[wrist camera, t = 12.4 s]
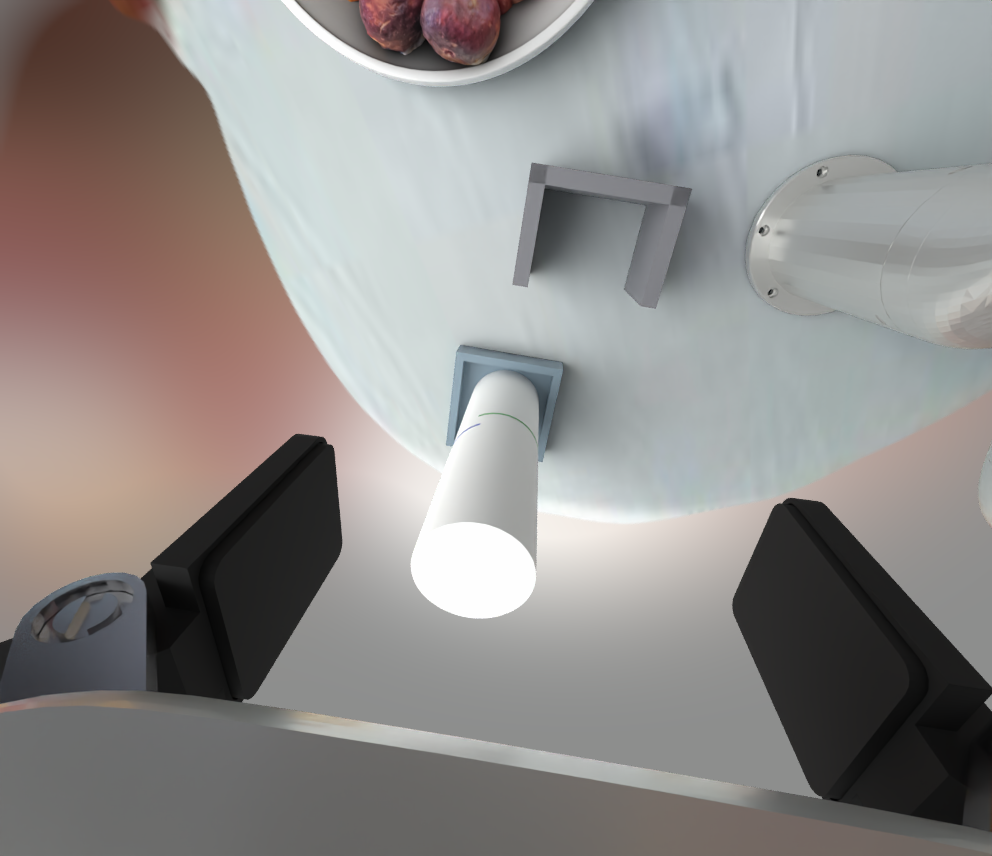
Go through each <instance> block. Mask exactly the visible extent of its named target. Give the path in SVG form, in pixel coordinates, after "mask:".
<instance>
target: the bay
mask: <svg viewBox="0 0 992 856" xmlns="http://www.w3.org/2000/svg"><path fill="white" fill-rule="evenodd" d="M544 189H550V190H557V191H563V192H569V193H575V194H581V195H587V196H593V197H599V198H606V199H612V200H618V201H624V202H630V203H636V204H642V205H646V209H645V212H644V216H643V220H642V224H641V227H640V231H639V235H638V239H637V242H636V246H635V250H634V254H633V257H632V261H631V265H630V269H629V272H628V276H627V280H626V284H625V288H624V290H625V291H626V292H627V293H628V294H629V295H630V296H631V297H632V298H633V299H634V300H635V301H636V302H637V303H638V304H639V305H640V306H643V307H649V308H655V309H656V306H657V303H658V300H659V296H660V293H661V290H662V286H663V283H664V280H665V276H666V273H667V270H668V266H669V263H670V260H671V257H672V253H673V250H674V247H675V243H676V240H677V237H678V233H679V230H680V227H681V224H682V220H683V217H684V214H685V210H686V207H687V204H688V200H689V197H690V194H691V190H692V189H691V188H685V187H678V186H672V185H666V184H660V183H654V182H648V181H641V180H635V179H629V178H623V177H617V176H611V175H605V174H598V173H592V172H586V171H580V170H574V169H568V168H562V167H555V166H549V165H543V164H537V163H532V164H531V170H530V177H529V183H528V189H527V196H526V202H525V208H524V215H523V221H522V227H521V234H520V240H519V246H518V253H517V259H516V266H515V272H514V278H513V285H518V286H524V287H528V282H529V276H530V270H531V264H532V259H533V253H534V247H535V241H536V235H537V229H538V224H539V218H540V212H541V206H542V200H543V195H544Z"/></svg>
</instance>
